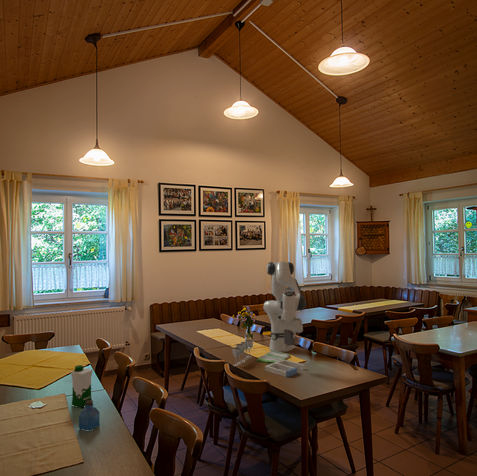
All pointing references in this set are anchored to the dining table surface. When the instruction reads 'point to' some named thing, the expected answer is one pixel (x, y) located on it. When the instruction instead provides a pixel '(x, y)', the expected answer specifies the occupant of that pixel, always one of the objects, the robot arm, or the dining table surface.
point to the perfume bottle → (89, 417)
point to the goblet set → (242, 350)
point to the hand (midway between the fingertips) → (289, 337)
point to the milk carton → (81, 386)
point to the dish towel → (273, 357)
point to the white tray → (284, 368)
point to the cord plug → (288, 337)
